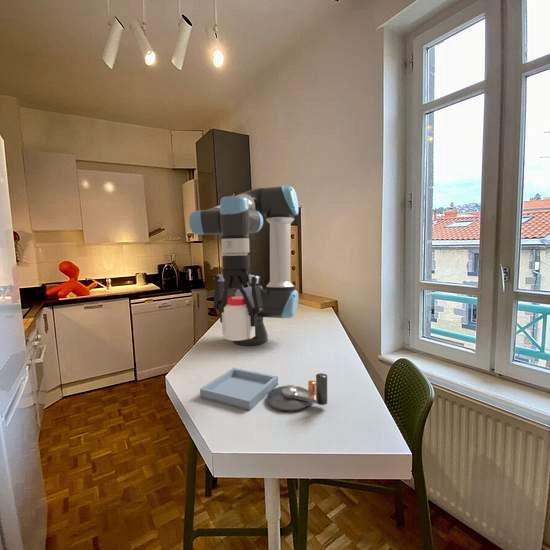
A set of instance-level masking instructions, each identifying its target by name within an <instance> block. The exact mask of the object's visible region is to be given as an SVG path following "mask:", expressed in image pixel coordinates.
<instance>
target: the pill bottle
mask: <svg viewBox="0 0 550 550" xmlns="http://www.w3.org/2000/svg"><path fill="white" fill-rule="evenodd" d="M227 300H228V304H227V305H226V306H225V307H224V328H225V335H224V338H225V339H226V340H228V341H232V342H233V341H240V340H246V339H248V331H247V315H248V314H250V313H249V311H248V308H247V306H246V303H245V300H244V298H243V296H231V297H229V298H227Z"/></svg>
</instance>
